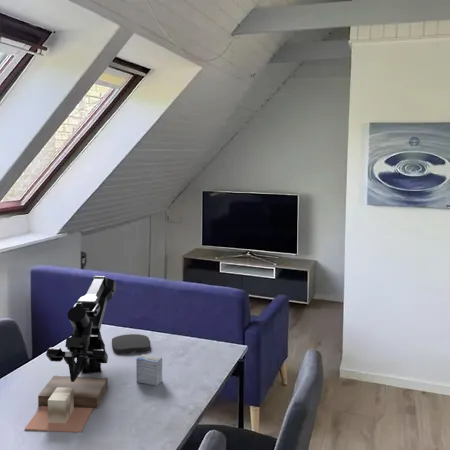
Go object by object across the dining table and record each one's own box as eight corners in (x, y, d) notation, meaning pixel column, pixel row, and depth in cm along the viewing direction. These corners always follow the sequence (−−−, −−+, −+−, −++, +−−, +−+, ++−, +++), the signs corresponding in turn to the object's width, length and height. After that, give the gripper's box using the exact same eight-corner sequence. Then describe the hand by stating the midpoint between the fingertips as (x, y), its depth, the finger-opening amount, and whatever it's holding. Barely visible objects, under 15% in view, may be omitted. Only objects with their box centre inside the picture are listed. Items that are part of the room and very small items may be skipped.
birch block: (57, 387, 158) (47, 400, 150) (73, 387, 158) (65, 400, 150) (57, 409, 159) (48, 422, 151) (73, 409, 159) (65, 423, 151)
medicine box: (162, 381, 181) (162, 357, 180) (156, 386, 177) (157, 362, 175) (142, 377, 183) (142, 353, 182) (135, 382, 179) (136, 358, 178)
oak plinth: (53, 385, 175) (53, 375, 174) (107, 387, 175) (107, 377, 174) (38, 406, 161) (38, 395, 160) (96, 408, 161) (96, 397, 160)
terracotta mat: (41, 407, 161) (41, 406, 161) (93, 409, 160) (93, 408, 160) (24, 430, 148) (24, 428, 148) (81, 432, 148) (81, 430, 148)
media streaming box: (110, 342, 215) (110, 335, 215) (146, 339, 220) (146, 332, 219) (114, 355, 201) (114, 348, 201) (152, 352, 206) (152, 345, 205)
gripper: (47, 323, 167) (35, 371, 158) (105, 325, 167) (97, 374, 158) (56, 337, 177) (45, 383, 168) (111, 339, 176) (103, 385, 167)
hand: (72, 381), depth 165 cm, fingers closed
